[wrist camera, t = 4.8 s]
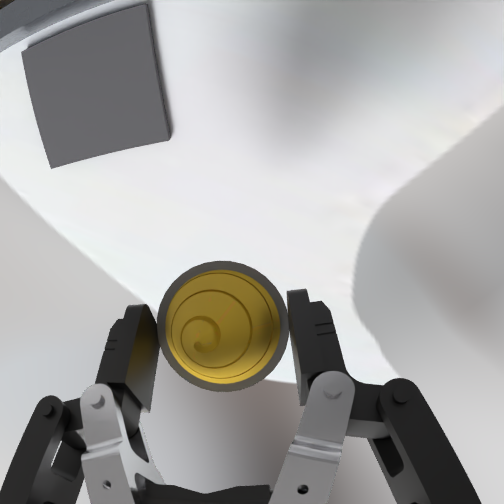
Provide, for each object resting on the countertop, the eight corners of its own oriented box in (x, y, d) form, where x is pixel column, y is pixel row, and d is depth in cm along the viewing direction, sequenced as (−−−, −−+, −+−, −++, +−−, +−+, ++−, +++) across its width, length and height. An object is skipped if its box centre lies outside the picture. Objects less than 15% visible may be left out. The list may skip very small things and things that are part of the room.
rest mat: (147, 4, 14) (145, 3, 13) (170, 137, 19) (168, 140, 19) (25, 51, 14) (21, 52, 13) (54, 165, 19) (51, 168, 19)
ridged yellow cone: (156, 312, 16) (47, 312, 6) (237, 250, 17) (222, 172, 7) (219, 393, 16) (184, 492, 6) (300, 331, 16) (373, 361, 6)
